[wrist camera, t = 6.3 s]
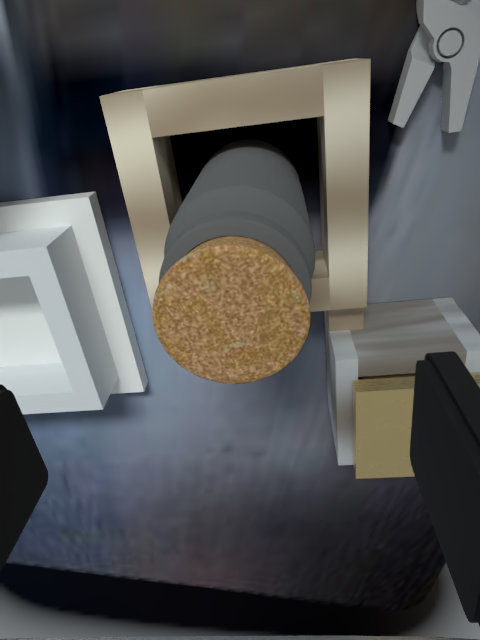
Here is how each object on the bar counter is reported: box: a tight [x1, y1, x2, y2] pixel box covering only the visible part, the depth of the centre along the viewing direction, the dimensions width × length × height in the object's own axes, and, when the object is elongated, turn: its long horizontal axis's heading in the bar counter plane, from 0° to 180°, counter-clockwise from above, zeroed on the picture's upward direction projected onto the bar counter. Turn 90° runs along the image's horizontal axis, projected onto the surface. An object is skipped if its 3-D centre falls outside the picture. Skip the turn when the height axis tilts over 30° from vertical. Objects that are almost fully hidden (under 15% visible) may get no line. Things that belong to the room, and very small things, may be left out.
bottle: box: [152, 139, 315, 384], centre depth 20 cm, size 6×6×15 cm
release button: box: [353, 372, 480, 479], centre depth 27 cm, size 6×6×6 cm
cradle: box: [0, 192, 148, 414], centre depth 29 cm, size 14×14×5 cm
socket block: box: [99, 58, 480, 465], centre depth 26 cm, size 22×18×6 cm
